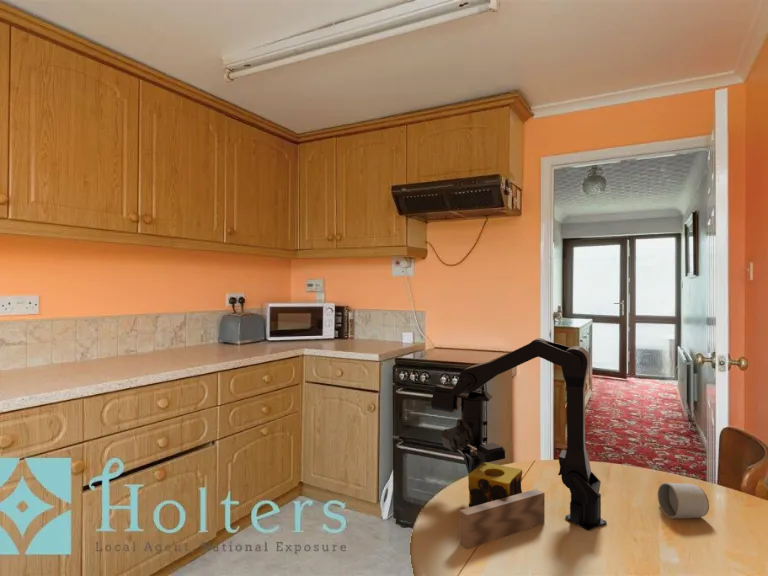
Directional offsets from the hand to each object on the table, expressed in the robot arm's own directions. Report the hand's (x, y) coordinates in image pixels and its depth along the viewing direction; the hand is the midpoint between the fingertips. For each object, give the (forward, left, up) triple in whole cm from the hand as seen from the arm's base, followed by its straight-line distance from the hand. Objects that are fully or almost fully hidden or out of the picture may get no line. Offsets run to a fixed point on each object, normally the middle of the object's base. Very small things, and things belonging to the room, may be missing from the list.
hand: (471, 476), depth 122 cm
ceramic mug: (-38, +30, -6) cm, 49 cm away
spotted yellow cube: (0, +9, -6) cm, 11 cm away
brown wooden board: (+5, +17, -5) cm, 19 cm away
